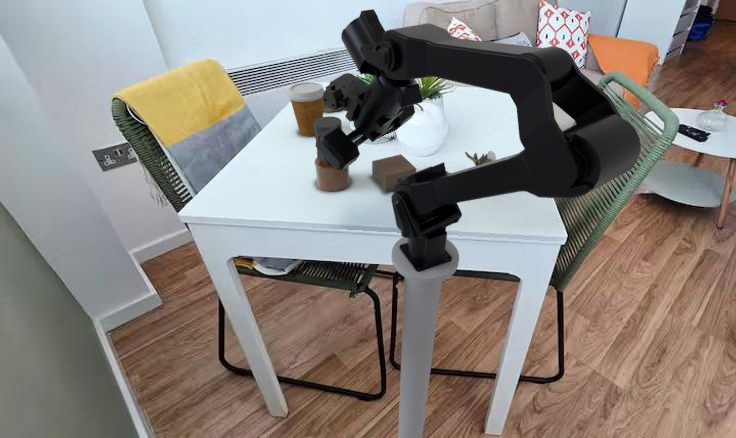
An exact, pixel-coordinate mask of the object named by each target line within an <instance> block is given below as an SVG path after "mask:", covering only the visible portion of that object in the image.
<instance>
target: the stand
mask: <svg viewBox="0 0 736 438" xmlns="http://www.w3.org/2000/svg"><path fill="white" fill-rule="evenodd" d="M371 168H372V169H371V170H372V172H371V173H372V174H371V175H372V178H373V179H374V181H375V182H376V184H378V185H379V187H380V188H381V189H382V190H383V192H385V193H390V192H394V191H393V188H394V186H395V185H396V184H399V183H398V182H397V179H399V178H402V177H404V176H407V175H410V174H412V173H415V172H417V167H416V166H415V165H413V164H412V163H411V162H410V161H409V160H408V159H407V158H406V157H405V156H403V154H397V155H392V156H388V157H383V158H379V159H375V160H372V161H371Z"/></svg>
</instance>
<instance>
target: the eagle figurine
mask: <svg viewBox="0 0 736 438" xmlns="http://www.w3.org/2000/svg"><path fill="white" fill-rule="evenodd" d="M464 154H465V156H466V157H467V158H468V159H469V160H470V161H472V162H473V164H474V166H478V165H481V164H484V163H488V162H491V161H494V160H497V159H496V158H497V157H496V153H495V152H494V151H491V150H489V151H487V153H484V152H483V153H482V155H481V156H480V157H479V156H478V154H477V152H475V153H474V154H473V156H471V154H469V153H468V152H467V151H464ZM478 157H479V158H478Z"/></svg>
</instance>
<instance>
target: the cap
mask: <svg viewBox="0 0 736 438" xmlns="http://www.w3.org/2000/svg"><path fill="white" fill-rule="evenodd" d="M342 125H343V123H342V119H341V118H339V117H336V116H328V115H327V116H323V117H321V118H318V119H316V120H315V121H314V130H315V136H314V137H315V141H316V140H317V138H318V136H319V135H320V134H322V133H323V132H325V131H326V130H328V129H329V128H331V127H332V126H338V127H340V128H341V130H342V131H343V126H342ZM316 158H318V160H320V161H322V162H326V163H329V160H328V159H327V158H326V157H325V156H324V155H323V154H322V153H321V152H320V151H319V150H318V149H317V148H316Z"/></svg>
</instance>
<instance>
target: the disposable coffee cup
mask: <svg viewBox="0 0 736 438" xmlns="http://www.w3.org/2000/svg"><path fill="white" fill-rule="evenodd" d="M325 90H326V89H324V87H323V85H322V84H321V83H319V82H315V81H313V82H312V81H305V82H298V83H294V84H292V85H290V86H289V88H288V92H287V97H288V98H289V100H290V103H291V107H292V110H293V113H294V116H295V120H296V124H297V127H298V131H299V134H300V135H302V136H305V137H315V130H314V121H315V120H316V119H318V118H321V117H324V112H323V92H325Z"/></svg>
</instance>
